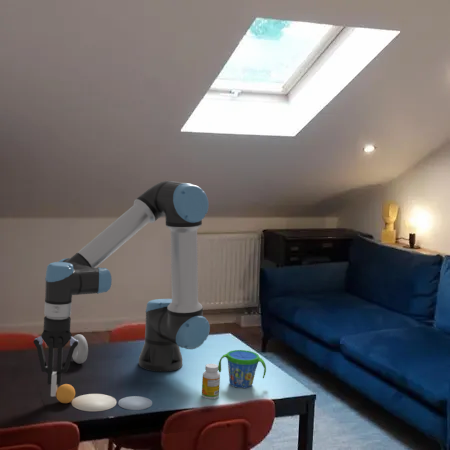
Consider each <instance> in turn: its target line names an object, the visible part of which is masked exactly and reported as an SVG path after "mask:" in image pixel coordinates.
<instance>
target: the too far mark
mask: <svg viewBox="0 0 450 450" xmlns="http://www.w3.org/2000/svg"><path fill="white" fill-rule="evenodd" d="M117 405H118V406H119V407H120V408H122V409H125V410H128V411H129V410H131V411H140V410H146V409H149V408H150V407H151V406H152V405H153V401H152V400H151V399H149V398H147V397H144V396H139V395H137V396H136V395H135V396H134V395H133V396H126V397H123V398H121V399H119V400H118V401H117Z"/></svg>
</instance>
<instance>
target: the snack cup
mask: <svg viewBox="0 0 450 450" xmlns="http://www.w3.org/2000/svg"><path fill="white" fill-rule="evenodd" d="M224 358H226V359H227V367H228V368H227V369H228V376H229V377H228V381H229V384H230V385H231V386H232V387H234V388H243V389H246V388H250V387H252V386H253V384H254V379H255V375H256V371H257V369H258V368H257V367H258V365H259V363H261V365H262V366H263V369H264V370H263V375H262V379H264V378H265V376H266V372H267V365H266V361H264V359H262V358H261V357H260V356H259V354H258V353H256V352H254V351H250V350H245V349H244V350H243V349H235V350H230V351H228V352H226V353H225V354H223V355H222V356H221V357H220V359H219V361H218V364H217V365H218V372H219V373H221V372H222V359H224Z"/></svg>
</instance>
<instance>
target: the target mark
mask: <svg viewBox="0 0 450 450" xmlns="http://www.w3.org/2000/svg"><path fill="white" fill-rule="evenodd" d="M117 404H118V401H117V399H116V398H115V397H114V396H111V395H107V394H103V393H88V394H83V395H82V394H80V395H79V396H75V397H74V399H73V400H72V401H71V406H72V407H73V408H74V409H77V410H79V411H82V412H83V411H84V412H103V411H107V410H110V409H113V408H114V407H115V406H116V405H117Z"/></svg>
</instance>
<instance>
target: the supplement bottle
mask: <svg viewBox="0 0 450 450" xmlns="http://www.w3.org/2000/svg"><path fill="white" fill-rule="evenodd" d="M218 365H219V364H216V363H207V364H205V367H204V369H205V371H203V372H202V383H201V396H202V397H203V398H205V399H209V400H211V399H213V400H214V399H218V398H219V396H220V383H221V372H219V370H218Z"/></svg>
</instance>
